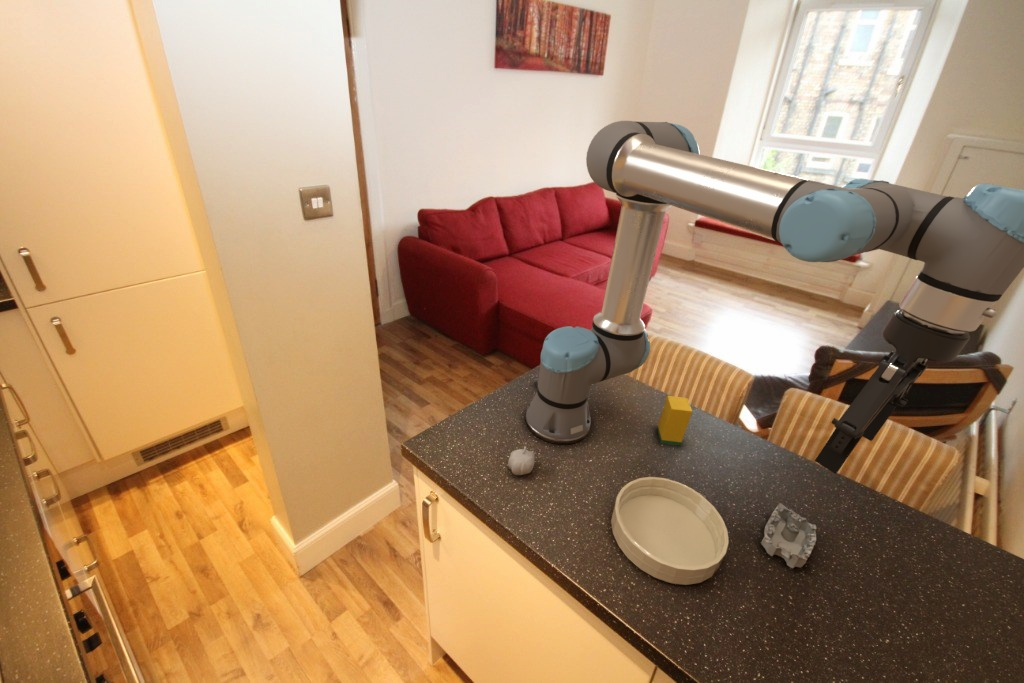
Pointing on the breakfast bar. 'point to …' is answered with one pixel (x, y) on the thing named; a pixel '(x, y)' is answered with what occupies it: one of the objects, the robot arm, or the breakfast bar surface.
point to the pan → (669, 530)
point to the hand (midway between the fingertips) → (844, 449)
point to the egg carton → (789, 536)
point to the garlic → (521, 461)
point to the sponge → (674, 420)
